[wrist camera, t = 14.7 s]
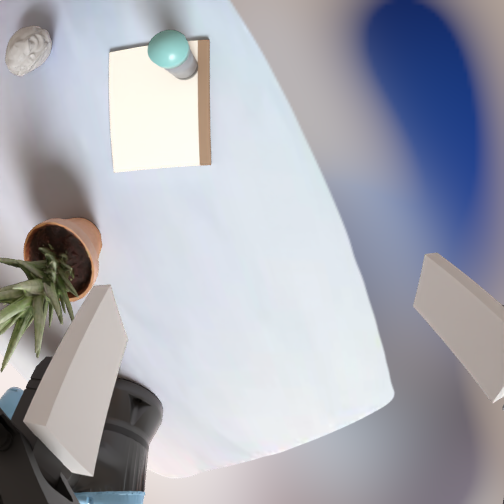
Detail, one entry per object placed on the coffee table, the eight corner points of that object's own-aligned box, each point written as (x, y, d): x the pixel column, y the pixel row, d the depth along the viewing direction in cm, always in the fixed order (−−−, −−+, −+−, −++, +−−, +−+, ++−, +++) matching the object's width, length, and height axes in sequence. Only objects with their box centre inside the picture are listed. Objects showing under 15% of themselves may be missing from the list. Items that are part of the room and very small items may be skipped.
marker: (170, 82, 27) (147, 68, 18) (170, 56, 26) (148, 32, 17) (199, 80, 27) (187, 64, 18) (199, 53, 26) (187, 28, 17)
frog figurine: (39, 89, 25) (6, 88, 19) (17, 57, 22) (-16, 52, 16) (73, 52, 24) (43, 42, 18) (48, 21, 21) (19, 9, 15)
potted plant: (90, 188, 32) (-56, 307, 9) (128, 254, 36) (46, 423, 13) (37, 224, 32) (-86, 340, 10) (73, 282, 36) (-13, 425, 14)
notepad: (115, 171, 31) (113, 172, 31) (111, 53, 25) (109, 52, 25) (211, 164, 32) (211, 164, 31) (209, 40, 26) (209, 39, 25)
